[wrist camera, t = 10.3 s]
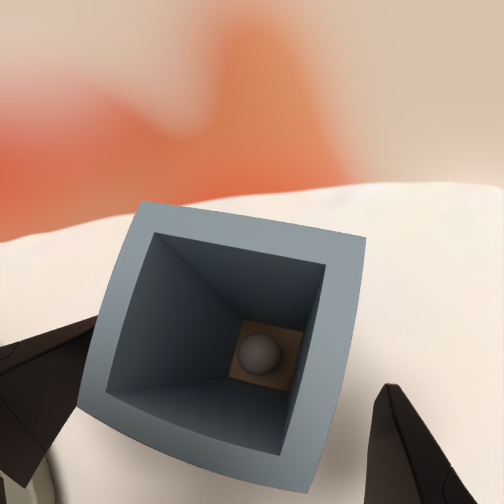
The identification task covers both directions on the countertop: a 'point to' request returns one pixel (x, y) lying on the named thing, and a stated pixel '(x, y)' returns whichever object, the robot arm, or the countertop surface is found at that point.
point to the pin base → (289, 360)
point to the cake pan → (32, 488)
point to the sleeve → (223, 340)
